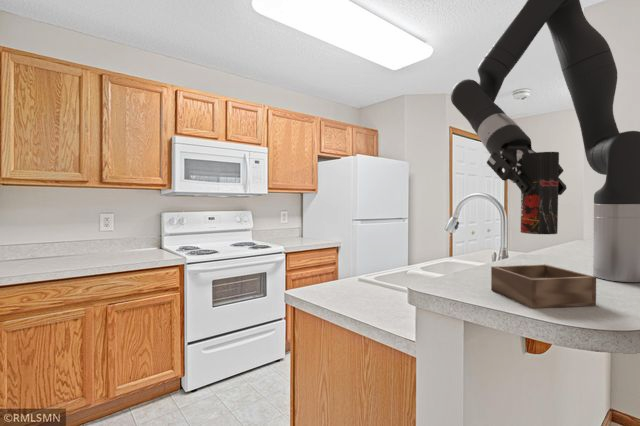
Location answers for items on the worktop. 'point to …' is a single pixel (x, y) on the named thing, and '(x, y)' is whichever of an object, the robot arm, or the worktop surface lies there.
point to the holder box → (543, 286)
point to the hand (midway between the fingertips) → (546, 191)
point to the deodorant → (540, 193)
